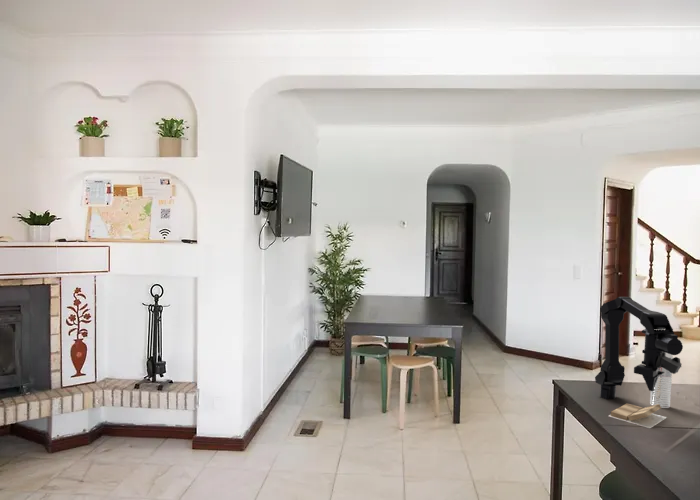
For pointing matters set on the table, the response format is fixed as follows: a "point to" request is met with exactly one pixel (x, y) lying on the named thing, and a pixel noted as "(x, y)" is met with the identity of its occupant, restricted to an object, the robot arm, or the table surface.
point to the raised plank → (644, 412)
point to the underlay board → (646, 420)
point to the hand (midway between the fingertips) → (651, 390)
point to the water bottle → (662, 388)
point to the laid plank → (625, 411)
